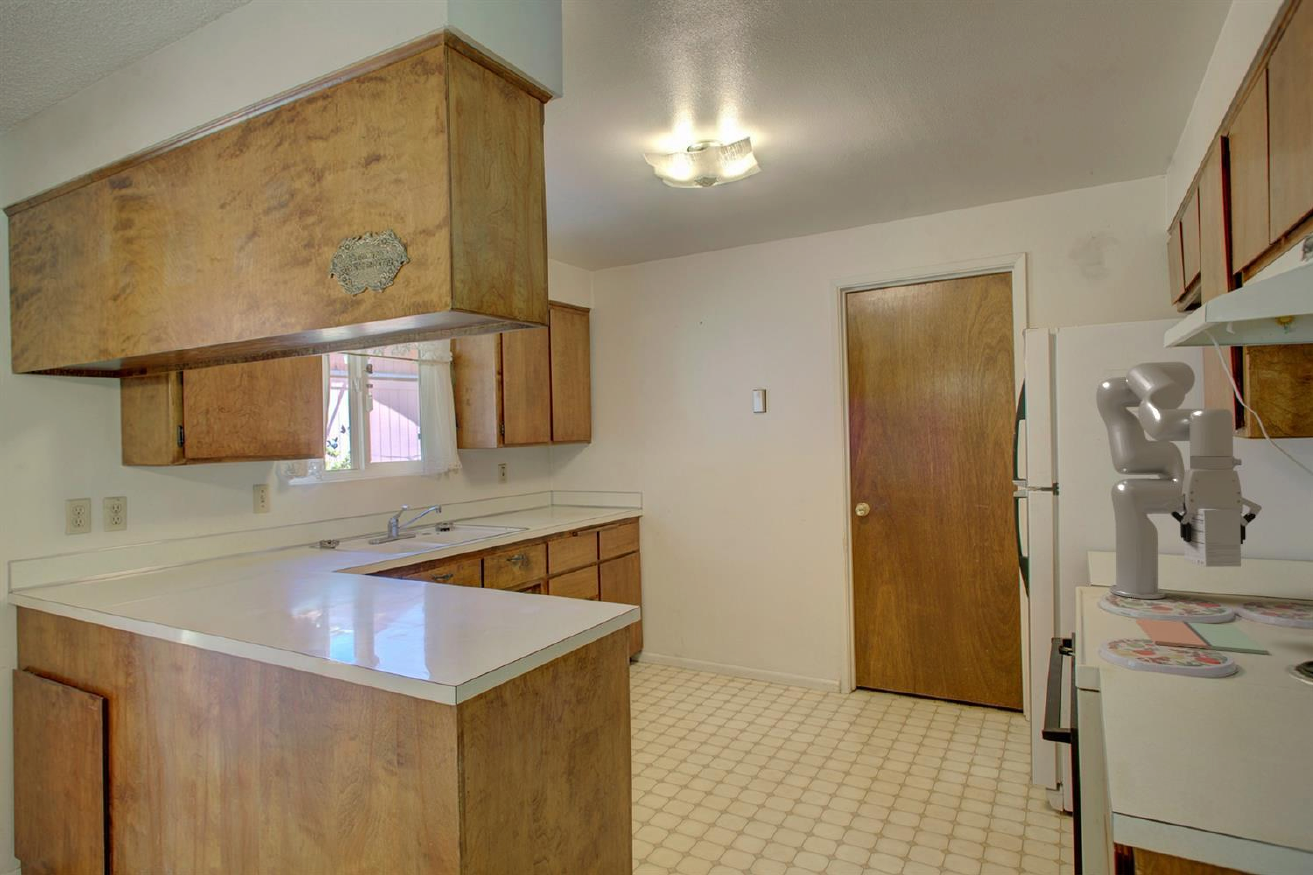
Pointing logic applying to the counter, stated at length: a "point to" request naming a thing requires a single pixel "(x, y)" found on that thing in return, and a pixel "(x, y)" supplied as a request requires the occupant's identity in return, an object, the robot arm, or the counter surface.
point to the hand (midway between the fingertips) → (1212, 542)
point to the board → (1199, 636)
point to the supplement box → (1214, 538)
